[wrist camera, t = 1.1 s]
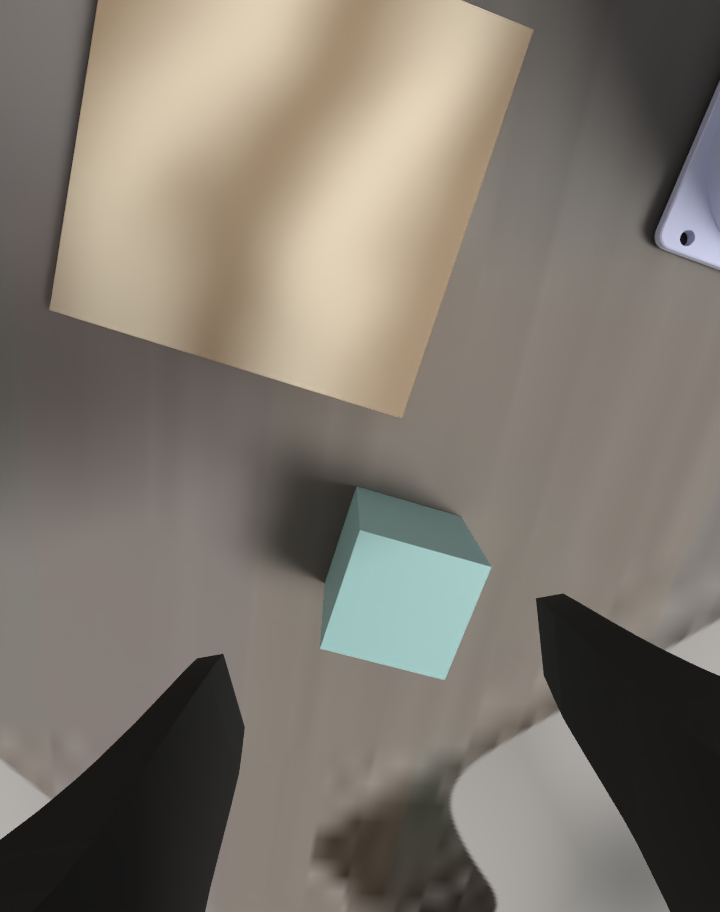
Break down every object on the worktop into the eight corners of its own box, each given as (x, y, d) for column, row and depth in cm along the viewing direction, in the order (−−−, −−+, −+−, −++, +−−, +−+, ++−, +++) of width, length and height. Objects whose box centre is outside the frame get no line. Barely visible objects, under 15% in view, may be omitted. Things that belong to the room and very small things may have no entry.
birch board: (527, 39, 17) (533, 29, 16) (400, 415, 20) (401, 418, 19) (128, -121, 15) (119, -138, 15) (58, 310, 18) (49, 310, 18)
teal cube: (460, 515, 21) (491, 566, 17) (424, 609, 22) (444, 680, 18) (356, 485, 20) (360, 530, 16) (324, 582, 22) (320, 648, 17)
